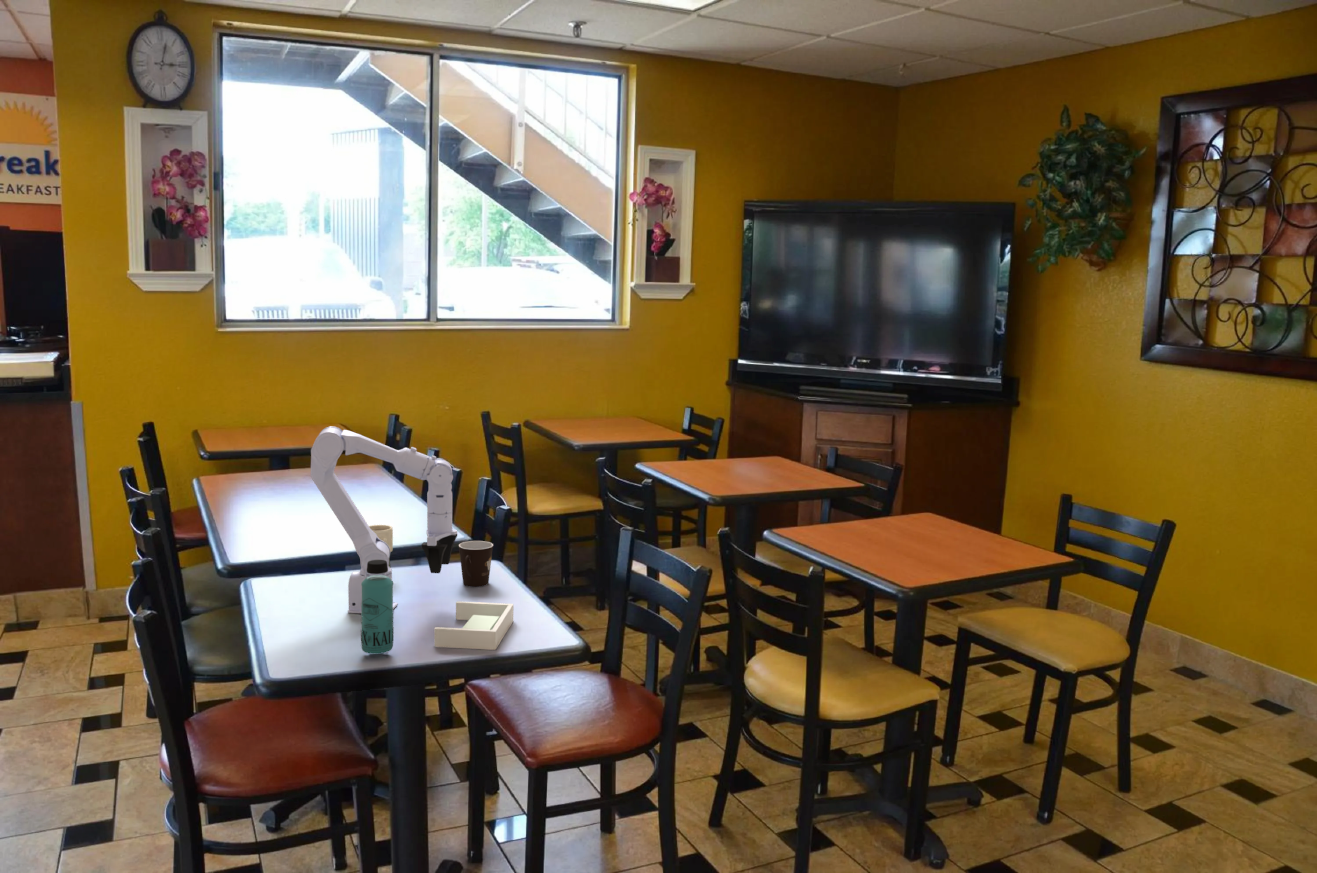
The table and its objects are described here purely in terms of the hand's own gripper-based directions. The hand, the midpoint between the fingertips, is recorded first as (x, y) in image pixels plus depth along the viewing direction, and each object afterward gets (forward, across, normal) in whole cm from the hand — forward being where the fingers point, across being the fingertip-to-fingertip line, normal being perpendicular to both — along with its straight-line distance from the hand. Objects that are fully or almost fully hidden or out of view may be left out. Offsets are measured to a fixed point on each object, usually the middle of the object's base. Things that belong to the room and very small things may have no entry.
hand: (439, 568), depth 243 cm
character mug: (+10, +22, +22) cm, 33 cm away
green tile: (+10, -17, -14) cm, 24 cm away
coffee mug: (+10, +19, -3) cm, 21 cm away
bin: (+9, -17, -12) cm, 23 cm away
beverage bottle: (+10, -33, +4) cm, 35 cm away
